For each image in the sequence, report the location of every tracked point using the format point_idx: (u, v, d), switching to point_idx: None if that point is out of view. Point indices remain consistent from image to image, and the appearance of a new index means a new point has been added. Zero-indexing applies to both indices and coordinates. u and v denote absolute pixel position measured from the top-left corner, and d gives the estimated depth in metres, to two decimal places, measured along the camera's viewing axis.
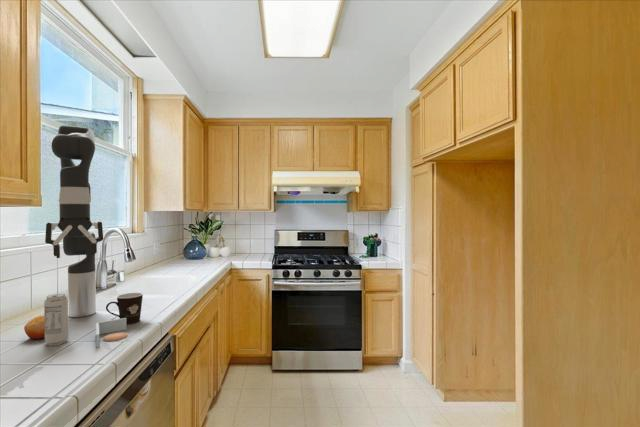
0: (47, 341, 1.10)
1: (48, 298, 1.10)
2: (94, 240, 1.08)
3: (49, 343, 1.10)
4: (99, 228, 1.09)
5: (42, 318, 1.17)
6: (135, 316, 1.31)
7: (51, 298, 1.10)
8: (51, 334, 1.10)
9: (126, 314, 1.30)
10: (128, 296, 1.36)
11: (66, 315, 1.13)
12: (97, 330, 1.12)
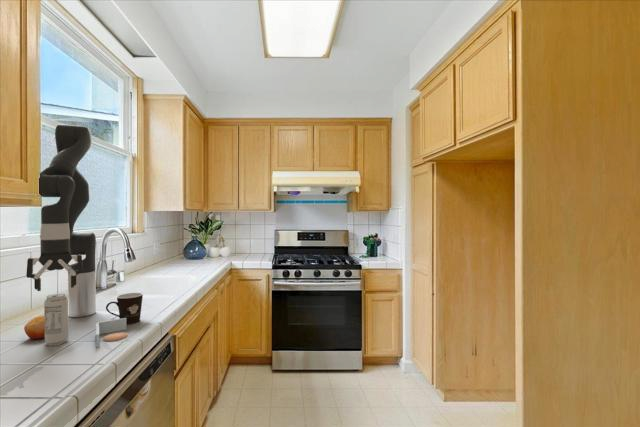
0: (47, 341, 1.10)
1: (48, 298, 1.10)
2: (74, 273, 1.14)
3: (49, 343, 1.10)
4: (79, 261, 1.15)
5: (42, 318, 1.17)
6: (135, 316, 1.31)
7: (51, 298, 1.10)
8: (51, 334, 1.10)
9: (126, 314, 1.30)
10: (128, 296, 1.36)
11: (66, 315, 1.13)
12: (97, 330, 1.12)
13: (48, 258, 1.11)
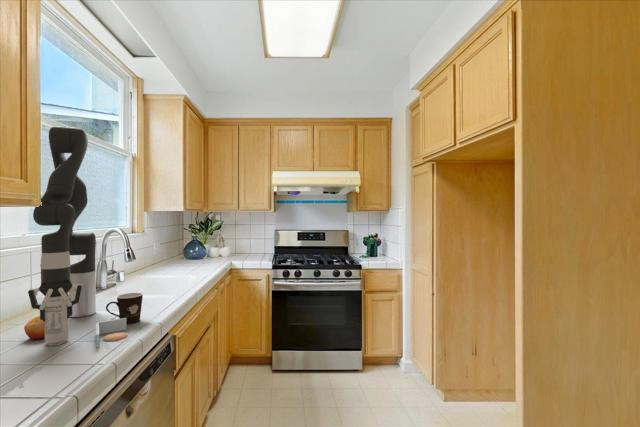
0: (47, 341, 1.10)
1: None
2: (70, 303, 1.13)
3: (49, 343, 1.10)
4: (77, 291, 1.15)
5: None
6: (135, 316, 1.31)
7: (51, 298, 1.10)
8: (51, 334, 1.10)
9: (126, 314, 1.30)
10: (128, 296, 1.36)
11: (66, 315, 1.13)
12: (97, 330, 1.12)
13: (48, 287, 1.11)
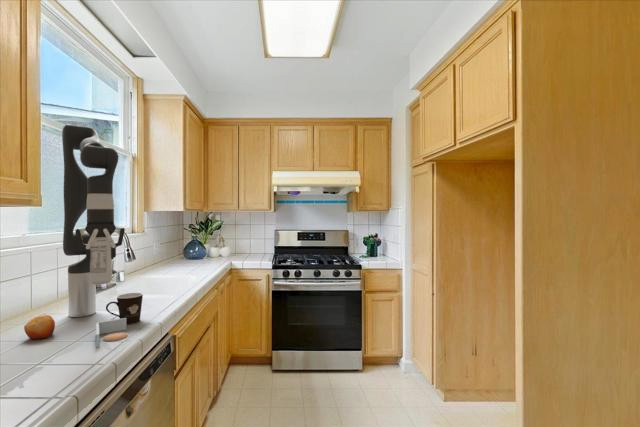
0: (93, 280, 1.12)
1: None
2: (114, 245, 1.16)
3: (94, 282, 1.13)
4: (121, 233, 1.17)
5: (42, 318, 1.17)
6: (135, 316, 1.31)
7: (97, 238, 1.13)
8: (96, 273, 1.12)
9: (126, 314, 1.30)
10: (128, 296, 1.36)
11: (110, 256, 1.16)
12: (97, 330, 1.12)
13: (94, 227, 1.13)
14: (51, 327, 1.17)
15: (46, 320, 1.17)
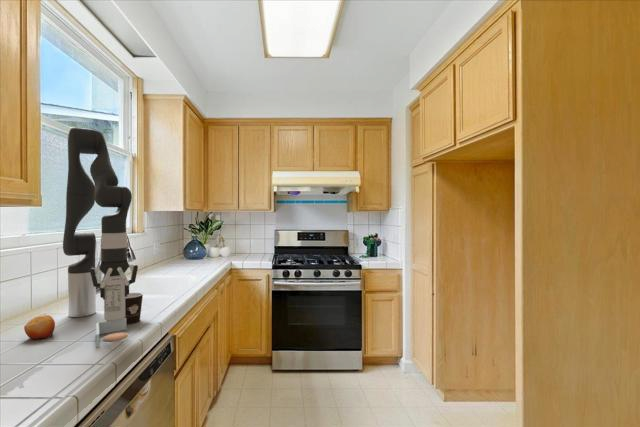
0: (107, 318, 1.14)
1: None
2: (127, 282, 1.18)
3: (109, 320, 1.14)
4: (134, 271, 1.19)
5: (42, 318, 1.17)
6: (135, 316, 1.31)
7: (111, 277, 1.14)
8: (111, 312, 1.14)
9: (126, 314, 1.30)
10: (128, 296, 1.36)
11: (124, 294, 1.17)
12: (97, 330, 1.12)
13: (108, 266, 1.15)
14: (51, 327, 1.17)
15: (46, 320, 1.17)
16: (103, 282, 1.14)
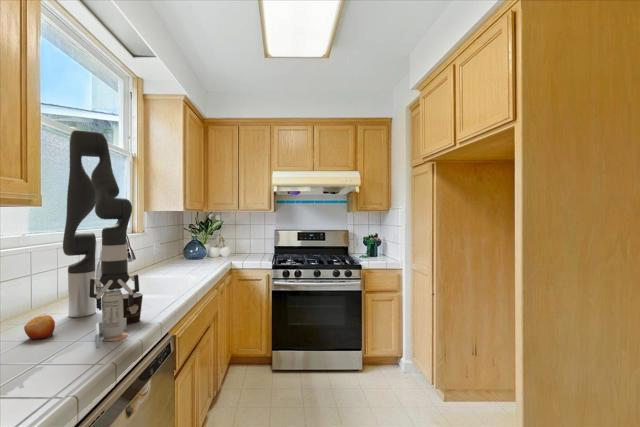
0: (105, 335, 1.14)
1: (106, 293, 1.14)
2: (131, 292, 1.18)
3: (107, 337, 1.14)
4: (136, 280, 1.19)
5: (42, 318, 1.17)
6: (135, 316, 1.31)
7: (109, 293, 1.14)
8: (109, 328, 1.14)
9: (126, 314, 1.30)
10: None
11: (122, 310, 1.17)
12: (97, 330, 1.12)
13: (108, 278, 1.15)
14: (51, 327, 1.17)
15: (46, 320, 1.17)
16: (100, 293, 1.14)
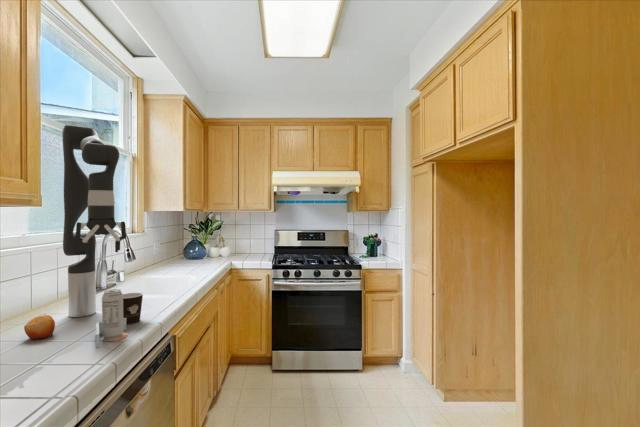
0: (105, 335, 1.14)
1: (106, 293, 1.14)
2: (118, 238, 1.20)
3: (107, 336, 1.14)
4: (122, 227, 1.20)
5: (42, 318, 1.17)
6: (135, 316, 1.31)
7: (109, 293, 1.14)
8: (109, 328, 1.14)
9: (126, 314, 1.30)
10: (128, 296, 1.36)
11: (122, 310, 1.17)
12: (97, 330, 1.12)
13: (95, 223, 1.16)
14: (51, 327, 1.17)
15: (46, 320, 1.17)
16: (86, 237, 1.15)
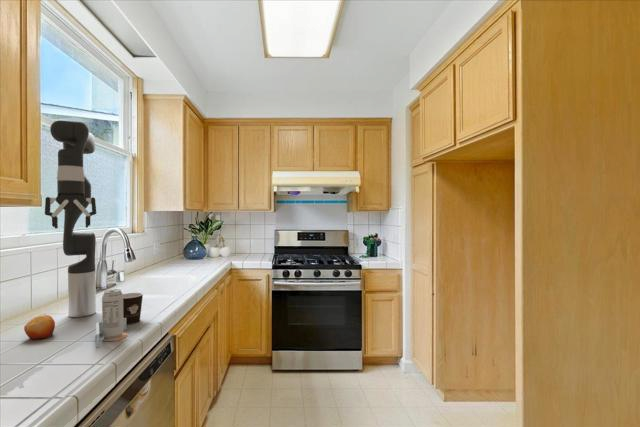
0: (105, 335, 1.14)
1: (106, 293, 1.14)
2: (88, 213, 1.22)
3: (107, 336, 1.14)
4: (92, 203, 1.23)
5: (42, 318, 1.17)
6: (135, 316, 1.31)
7: (109, 293, 1.14)
8: (109, 328, 1.14)
9: (126, 314, 1.30)
10: (128, 296, 1.36)
11: (122, 310, 1.17)
12: (97, 330, 1.12)
13: (64, 198, 1.18)
14: (51, 327, 1.17)
15: (46, 320, 1.17)
16: (56, 211, 1.17)
